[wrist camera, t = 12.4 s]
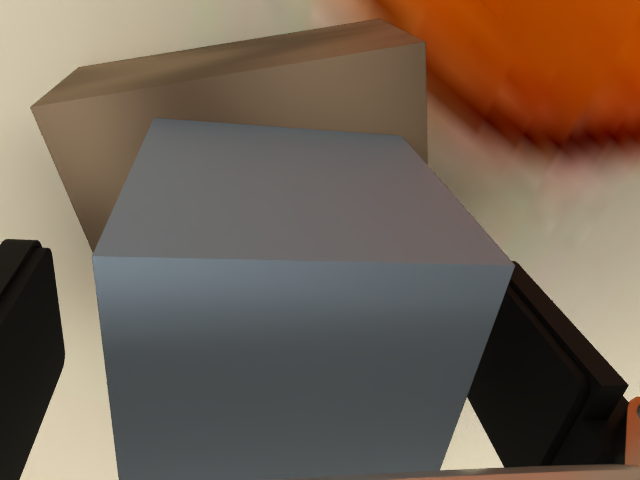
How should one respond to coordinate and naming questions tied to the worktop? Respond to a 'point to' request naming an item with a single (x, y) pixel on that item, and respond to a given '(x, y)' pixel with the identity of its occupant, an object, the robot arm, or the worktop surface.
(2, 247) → the robot arm
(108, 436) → the worktop surface
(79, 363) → the worktop surface
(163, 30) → the worktop surface
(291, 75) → the walnut block
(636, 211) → the worktop surface
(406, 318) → the slate cube
